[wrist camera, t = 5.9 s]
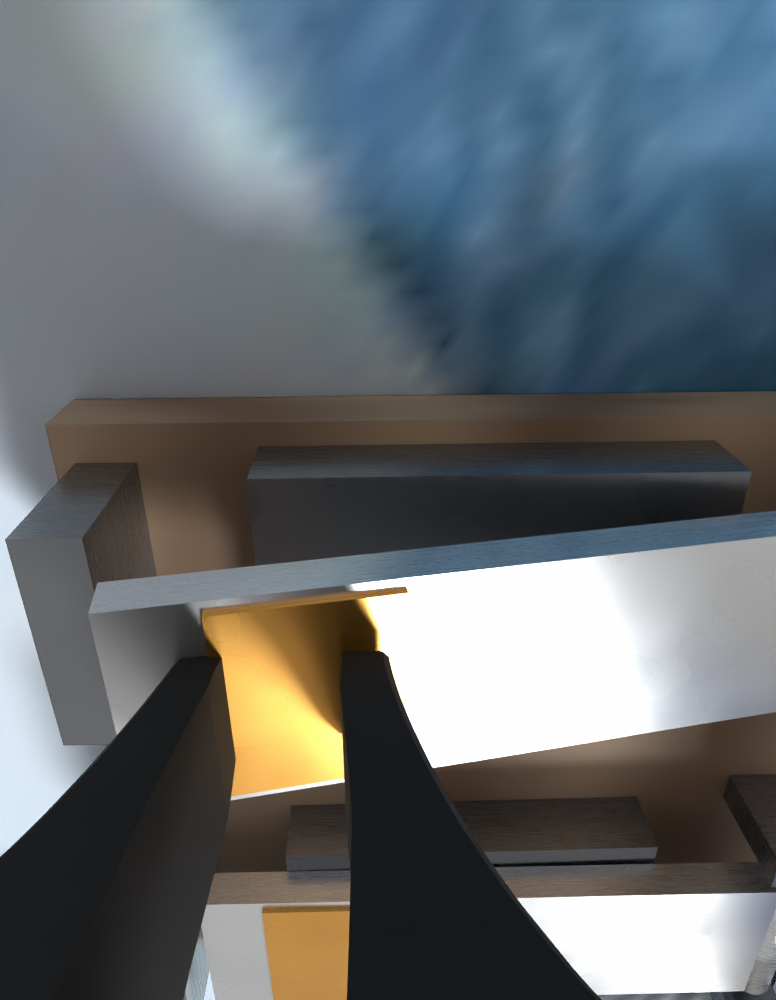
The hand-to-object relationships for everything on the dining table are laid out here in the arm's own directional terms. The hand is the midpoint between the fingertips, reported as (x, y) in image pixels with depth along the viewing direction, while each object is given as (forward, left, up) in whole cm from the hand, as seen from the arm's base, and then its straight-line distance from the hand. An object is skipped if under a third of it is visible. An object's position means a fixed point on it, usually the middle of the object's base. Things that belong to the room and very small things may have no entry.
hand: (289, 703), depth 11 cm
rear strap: (-4, +10, -3) cm, 11 cm away
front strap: (-4, 0, -2) cm, 5 cm away
